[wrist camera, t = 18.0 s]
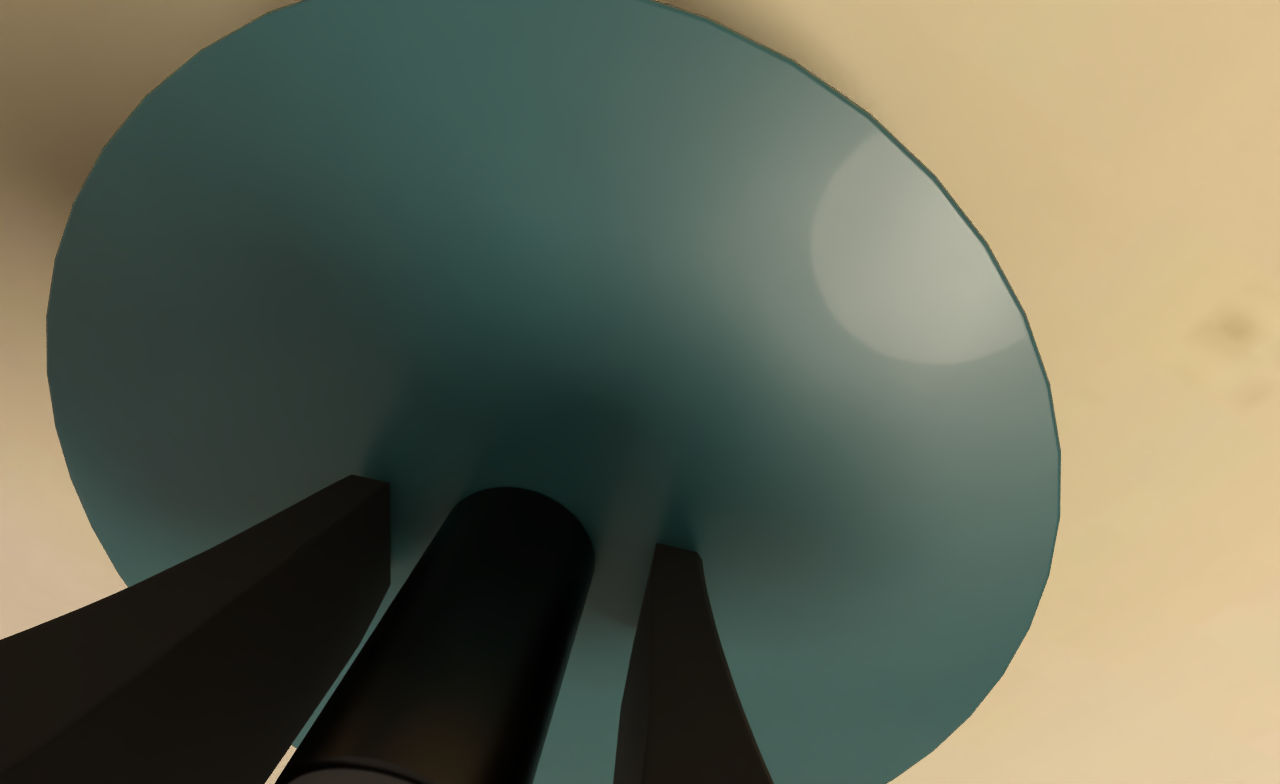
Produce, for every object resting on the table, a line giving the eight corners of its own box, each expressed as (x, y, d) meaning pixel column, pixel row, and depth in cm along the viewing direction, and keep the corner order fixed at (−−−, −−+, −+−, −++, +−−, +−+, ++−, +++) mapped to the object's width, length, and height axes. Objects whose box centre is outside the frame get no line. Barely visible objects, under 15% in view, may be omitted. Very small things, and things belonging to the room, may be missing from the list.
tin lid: (648, 883, 16) (606, 1253, 11) (32, 543, 13) (-373, 818, 9) (1281, 454, 9) (1896, 902, 4) (286, -355, 7) (-840, -1383, 2)
